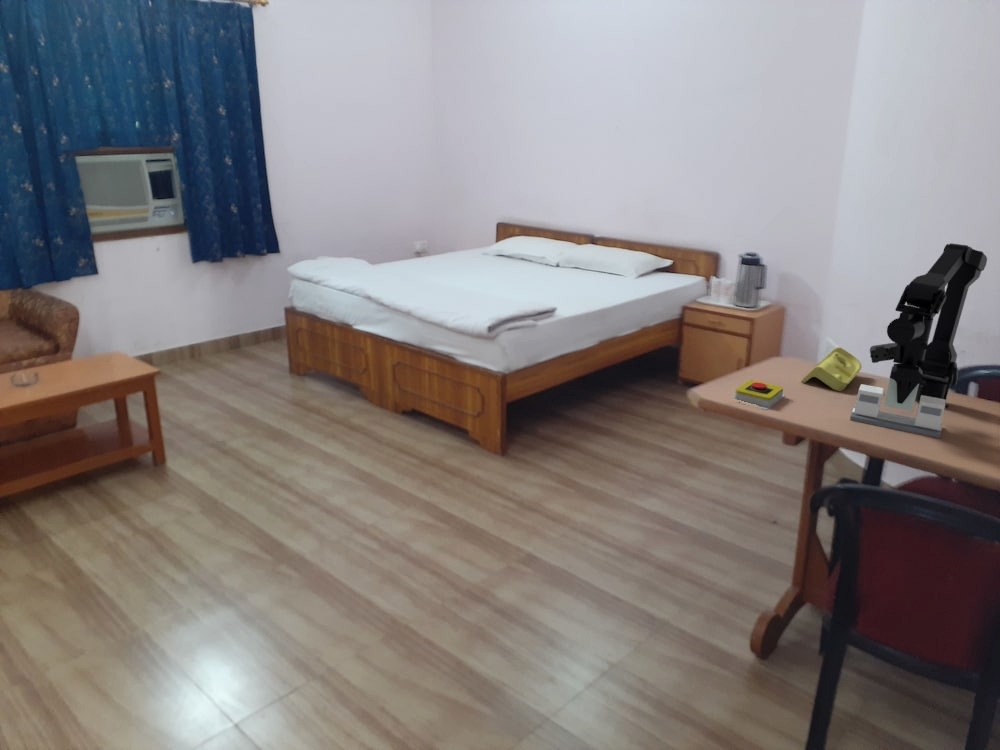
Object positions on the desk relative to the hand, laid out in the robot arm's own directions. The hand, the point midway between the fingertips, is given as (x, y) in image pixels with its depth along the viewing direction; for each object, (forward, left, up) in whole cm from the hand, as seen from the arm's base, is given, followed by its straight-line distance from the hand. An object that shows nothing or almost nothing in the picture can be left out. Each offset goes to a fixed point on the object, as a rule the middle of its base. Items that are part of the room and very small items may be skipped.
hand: (900, 399), depth 175 cm
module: (0, 0, -2) cm, 2 cm away
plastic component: (+2, -31, -6) cm, 32 cm away
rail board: (0, 0, -6) cm, 6 cm away
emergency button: (+28, -14, -7) cm, 32 cm away
